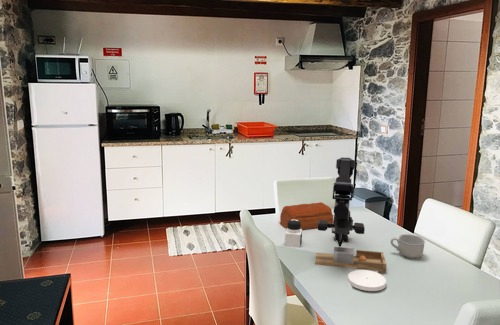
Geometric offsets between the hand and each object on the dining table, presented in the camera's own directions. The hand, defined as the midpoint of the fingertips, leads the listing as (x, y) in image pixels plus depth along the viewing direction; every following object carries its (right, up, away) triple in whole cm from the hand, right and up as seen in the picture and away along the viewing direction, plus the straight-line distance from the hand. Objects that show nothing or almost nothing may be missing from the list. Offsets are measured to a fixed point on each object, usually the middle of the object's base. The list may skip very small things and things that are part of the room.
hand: (339, 246), depth 174 cm
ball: (+9, -5, -1) cm, 11 cm away
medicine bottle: (-17, -4, +19) cm, 26 cm away
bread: (-7, +2, +47) cm, 48 cm away
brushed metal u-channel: (-2, -4, +1) cm, 5 cm away
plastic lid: (+7, -12, -16) cm, 21 cm away
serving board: (+4, -8, +1) cm, 9 cm away
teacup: (+32, -6, +10) cm, 34 cm away
